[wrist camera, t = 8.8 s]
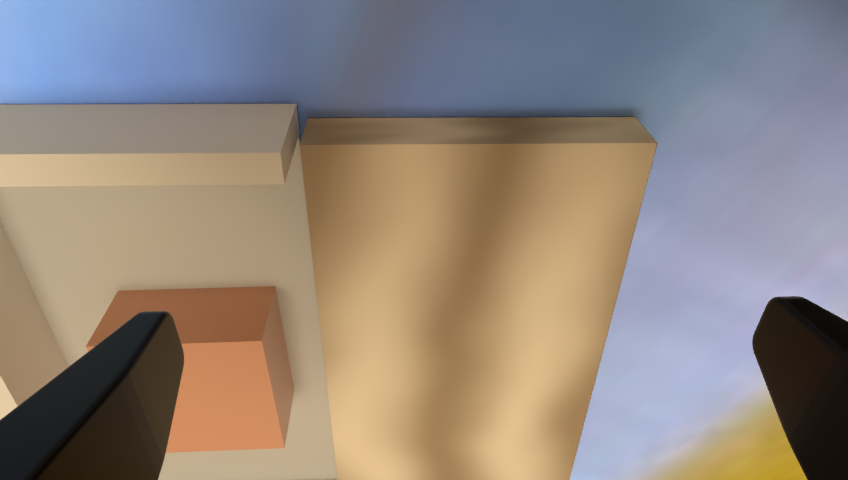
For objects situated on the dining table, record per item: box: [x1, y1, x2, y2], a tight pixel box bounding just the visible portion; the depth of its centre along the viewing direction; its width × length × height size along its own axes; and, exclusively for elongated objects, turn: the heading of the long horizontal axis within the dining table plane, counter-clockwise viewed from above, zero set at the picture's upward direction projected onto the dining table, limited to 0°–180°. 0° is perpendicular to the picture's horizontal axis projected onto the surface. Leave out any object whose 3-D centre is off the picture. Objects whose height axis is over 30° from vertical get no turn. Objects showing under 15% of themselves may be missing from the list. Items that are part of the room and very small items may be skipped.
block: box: [86, 286, 294, 453], centre depth 24 cm, size 6×6×3 cm
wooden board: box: [300, 117, 657, 480], centre depth 25 cm, size 11×20×2 cm, turn 179°
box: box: [0, 104, 337, 480], centre depth 24 cm, size 12×21×4 cm, turn 179°
